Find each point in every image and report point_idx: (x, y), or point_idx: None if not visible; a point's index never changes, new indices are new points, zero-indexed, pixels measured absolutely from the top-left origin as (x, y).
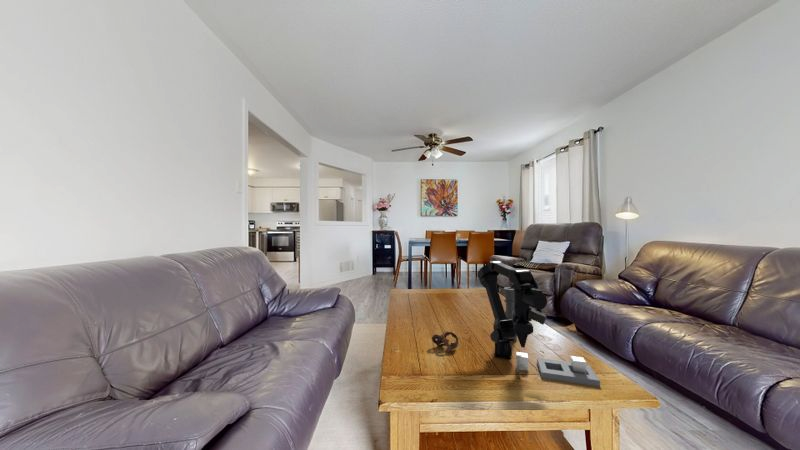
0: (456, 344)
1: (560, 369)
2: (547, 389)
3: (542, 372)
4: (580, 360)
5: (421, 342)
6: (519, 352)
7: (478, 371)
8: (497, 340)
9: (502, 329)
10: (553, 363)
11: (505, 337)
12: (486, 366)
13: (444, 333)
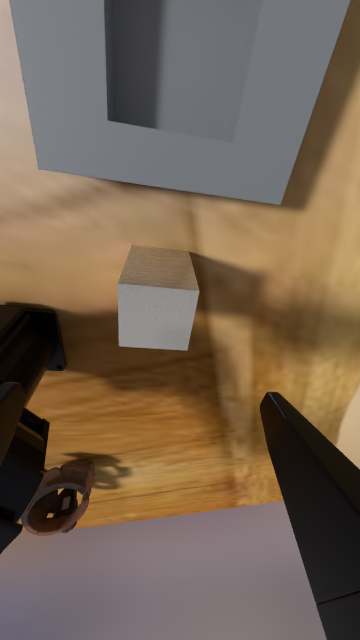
0: (65, 475)
1: None
2: (347, 191)
3: (281, 198)
4: None
5: None
6: (123, 330)
7: (201, 407)
8: (46, 442)
9: (8, 538)
10: (103, 6)
11: (25, 443)
12: (160, 390)
13: (53, 532)
